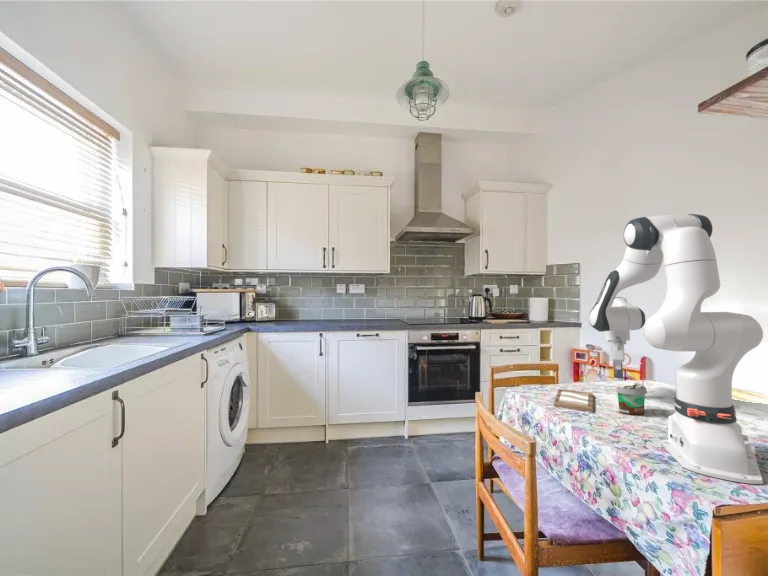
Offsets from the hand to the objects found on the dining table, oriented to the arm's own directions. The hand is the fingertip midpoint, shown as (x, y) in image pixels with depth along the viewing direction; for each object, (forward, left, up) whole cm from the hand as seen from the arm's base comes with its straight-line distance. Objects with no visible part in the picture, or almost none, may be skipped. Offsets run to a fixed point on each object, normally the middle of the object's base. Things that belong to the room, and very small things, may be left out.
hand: (618, 368), depth 135 cm
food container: (-18, -4, -13) cm, 23 cm away
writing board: (-13, +16, -13) cm, 24 cm away
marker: (0, 0, -5) cm, 5 cm away
